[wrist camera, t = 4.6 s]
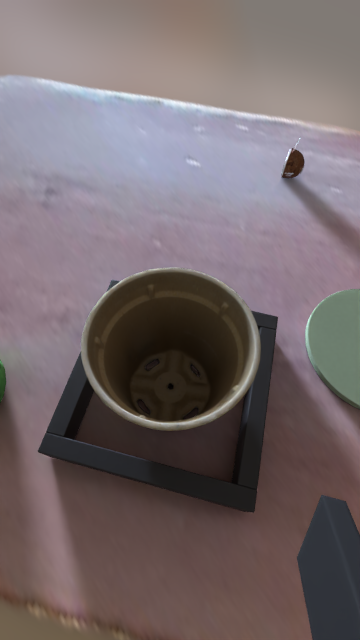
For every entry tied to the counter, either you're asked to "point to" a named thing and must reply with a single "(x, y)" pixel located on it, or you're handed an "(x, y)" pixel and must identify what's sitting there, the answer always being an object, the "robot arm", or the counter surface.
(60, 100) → the counter surface
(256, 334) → the flower pot
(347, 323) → the coaster
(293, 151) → the chocolate
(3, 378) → the wine bottle
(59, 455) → the holder
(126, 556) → the counter surface
